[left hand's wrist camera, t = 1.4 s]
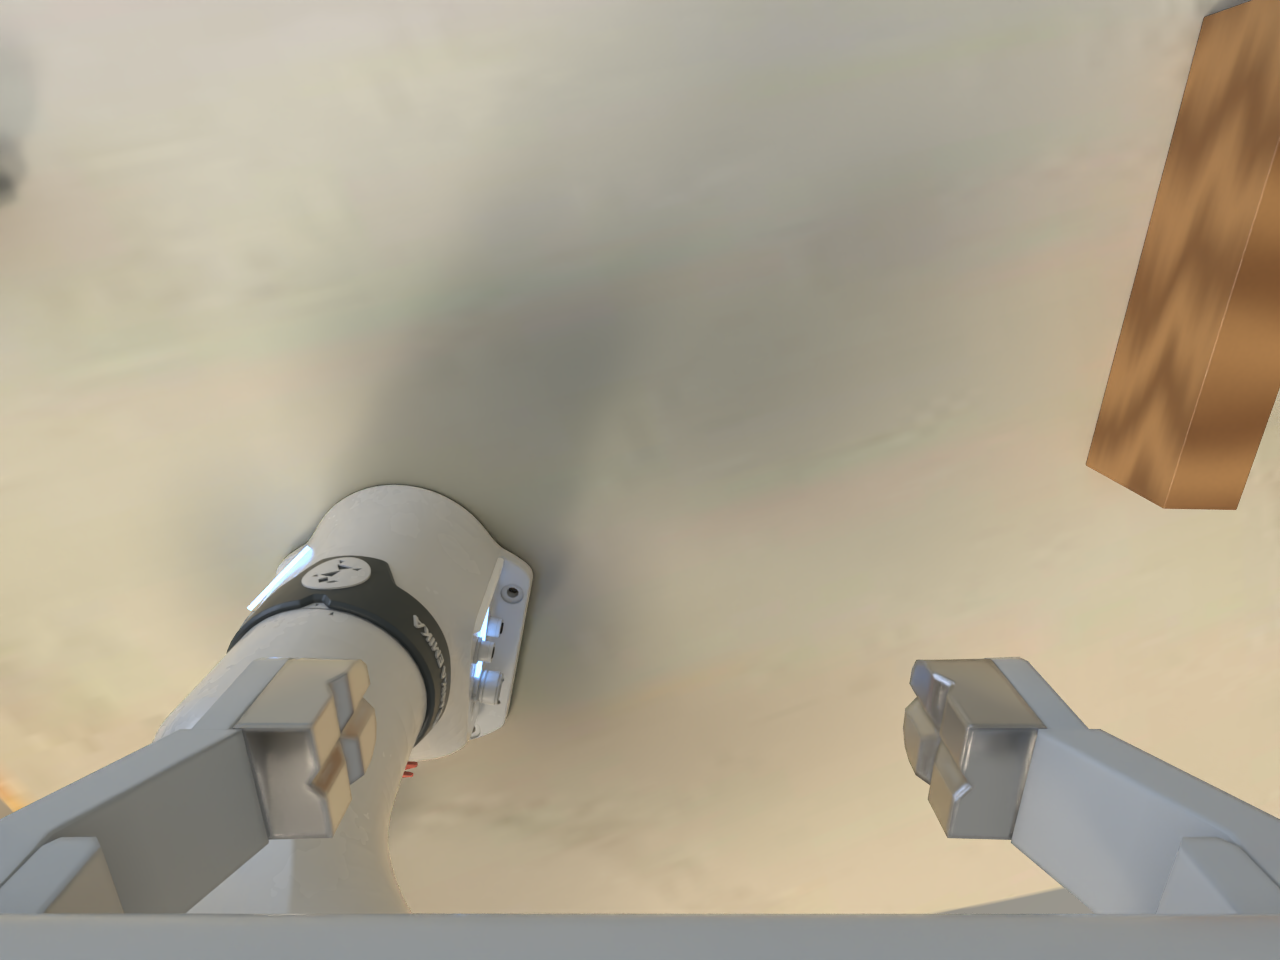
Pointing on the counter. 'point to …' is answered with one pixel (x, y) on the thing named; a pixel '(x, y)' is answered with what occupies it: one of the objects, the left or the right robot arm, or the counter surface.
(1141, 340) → the bar
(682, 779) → the counter surface
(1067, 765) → the left robot arm
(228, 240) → the counter surface
